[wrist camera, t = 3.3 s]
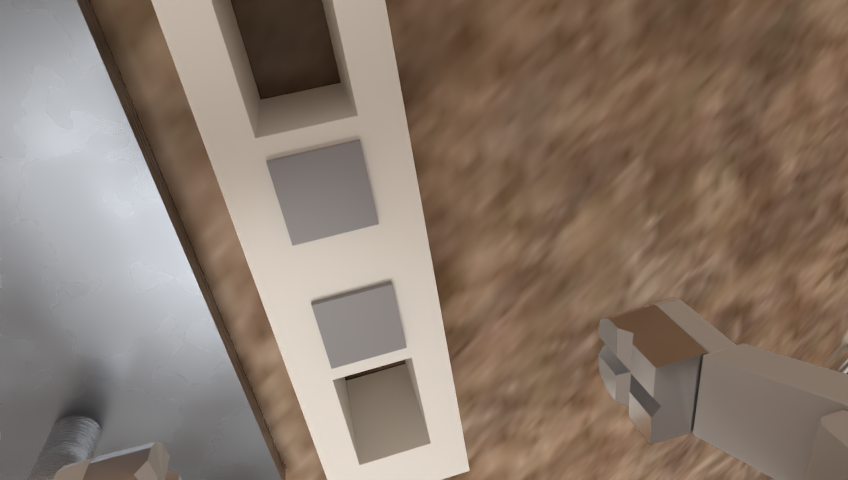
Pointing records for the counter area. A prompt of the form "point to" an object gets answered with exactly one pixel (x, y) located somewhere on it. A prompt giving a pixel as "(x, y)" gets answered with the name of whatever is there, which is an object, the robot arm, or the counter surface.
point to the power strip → (332, 237)
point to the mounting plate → (102, 275)
